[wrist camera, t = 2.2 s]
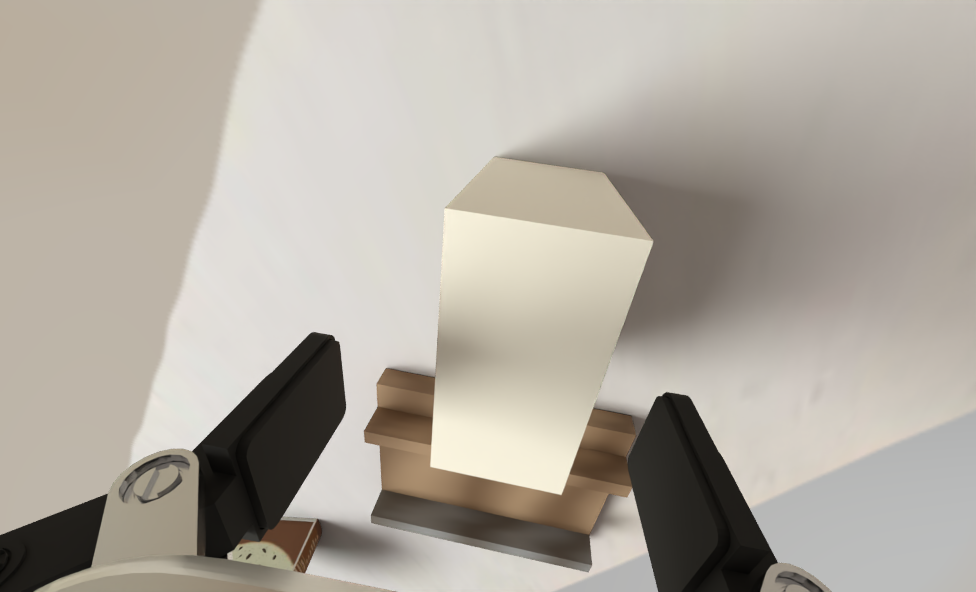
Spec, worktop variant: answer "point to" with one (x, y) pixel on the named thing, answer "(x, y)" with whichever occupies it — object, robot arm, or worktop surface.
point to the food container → (283, 545)
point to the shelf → (491, 483)
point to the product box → (529, 318)
